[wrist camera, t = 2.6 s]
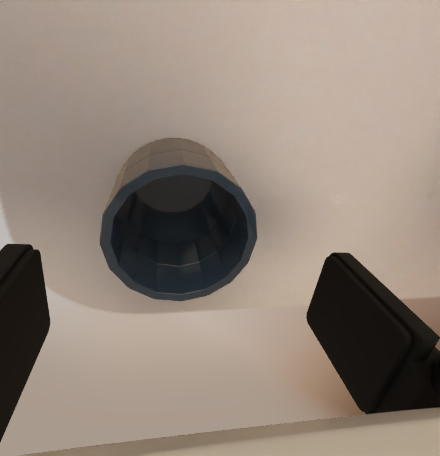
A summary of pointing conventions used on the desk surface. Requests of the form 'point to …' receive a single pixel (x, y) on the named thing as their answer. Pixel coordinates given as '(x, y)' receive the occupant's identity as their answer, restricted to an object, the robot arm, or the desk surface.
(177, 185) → the dark blue faceted tumbler
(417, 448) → the robot arm
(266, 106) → the desk surface
